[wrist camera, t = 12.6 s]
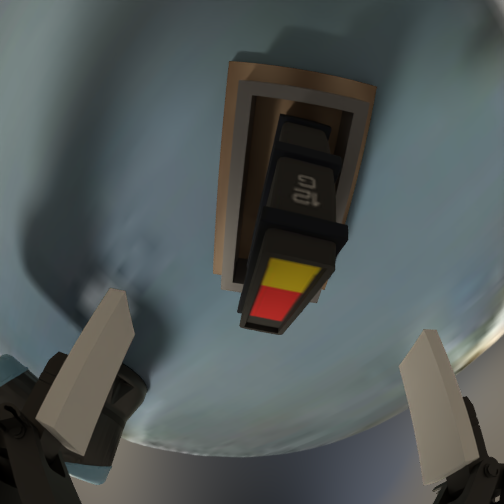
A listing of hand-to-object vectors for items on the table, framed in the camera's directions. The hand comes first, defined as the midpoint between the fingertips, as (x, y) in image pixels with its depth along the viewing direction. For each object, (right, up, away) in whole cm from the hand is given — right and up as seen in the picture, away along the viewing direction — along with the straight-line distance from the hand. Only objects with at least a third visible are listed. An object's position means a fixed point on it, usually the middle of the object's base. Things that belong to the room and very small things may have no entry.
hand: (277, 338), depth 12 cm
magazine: (+2, +9, +14) cm, 17 cm away
